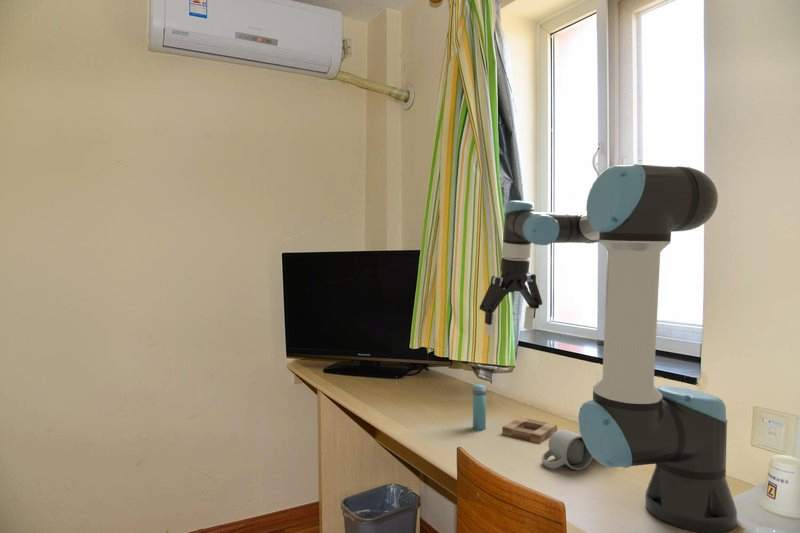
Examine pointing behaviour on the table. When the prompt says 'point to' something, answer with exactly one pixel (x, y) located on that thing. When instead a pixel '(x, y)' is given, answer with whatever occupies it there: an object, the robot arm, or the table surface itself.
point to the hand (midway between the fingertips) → (509, 332)
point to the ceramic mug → (567, 451)
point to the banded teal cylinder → (479, 407)
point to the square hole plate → (529, 429)
